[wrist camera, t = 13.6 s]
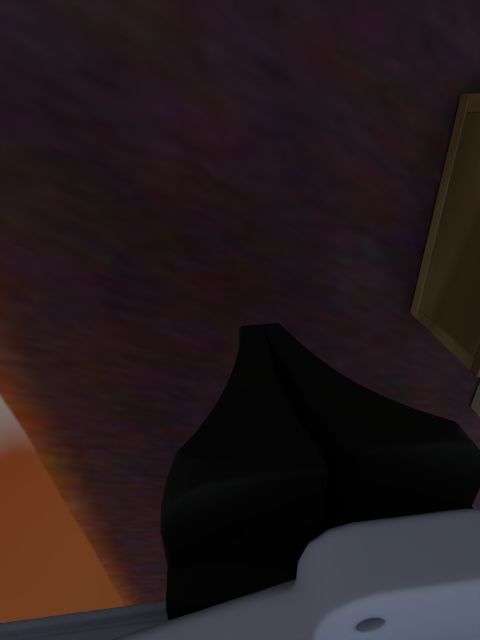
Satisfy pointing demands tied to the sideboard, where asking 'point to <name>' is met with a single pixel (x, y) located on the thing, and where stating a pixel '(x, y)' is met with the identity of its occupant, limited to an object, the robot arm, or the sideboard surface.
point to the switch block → (476, 401)
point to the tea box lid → (476, 364)
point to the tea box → (455, 243)
